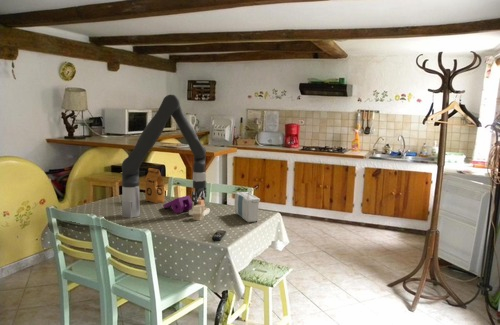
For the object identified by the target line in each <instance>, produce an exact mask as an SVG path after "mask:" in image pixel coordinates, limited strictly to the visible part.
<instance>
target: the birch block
mask: <svg viewBox="0 0 500 325" xmlns="http://www.w3.org/2000/svg"><path fill="white" fill-rule="evenodd" d="M204 205H205V204H204ZM204 205H195V206H194V205H193V206H192V209H193V215H192V220H193V221H202V220H203V219H204V218H205V216H204V208H205V206H204Z"/></svg>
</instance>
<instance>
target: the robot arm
mask: <svg viewBox="0 0 500 325" xmlns="http://www.w3.org/2000/svg"><path fill="white" fill-rule="evenodd" d="M171 117H172V118H173V120H174V121H175V123H176V125H177V126H178V128H179V131H180V132H181V134H182V136H183V138H184V140H185V141H186V143H187V145H188V147H189V149H190V151H191V153H192V154H193V158H194V159H193V160H194V161H193V168H192V171H193V172H192V188H194V190H193V191H191V201H192V203H193V206H195V205H198V200H199V199H200V200H204V204H205V200H206V198H207V174H206V159H207V149H206V146H204V145H202V143H201V141H200V140H199V136H198V134H197V133H196V131H195V129H194V127H193V126H192V124H191V123H190V122H189V120H188V118H187V117H186V116H185V113H184V112H183V109H182V107H181V105H180V99H179V98H178V96H176V95H175V94H167V95H166V96H164V97H163V99H162V101H161V104H160V106H159V107H158V110H157V111H156V113H155V114H154V116H152V118H151V119H150V120H149V122H147V123H148V124H147V125H146V126H145V127H144V129H143V131H141V133H140V136H139V137H138V140H137V141H136V143H135V146H134V147H133V150H132V151H131V152H130V154H129V155H128V156H127V157H126V158H125V159H123V161H122V163H121V171H122V173H121V176H122V179H121V184H122V186H121V188H122V200H121V217H122V218H129V219H133V218H137V217H139V216H140V215H141V212H140V211H141V209H140V208H141V207H140V206H141V205H140V203H141V202H140V201H141V200H140V198H141V197H140V167H141V165H142V163H143V162H144V160H145V158H146V156H147V154H148V153H149V152H150V151H151V149H152V148H153V147H154V146H155V145H156V143H157V141H158V139H159V138H160V137H161V135H162V134H163V131H164V129H165V127H166V124H167V123H168V121H169V119H170V118H171Z"/></svg>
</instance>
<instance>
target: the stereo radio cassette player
mask: <svg viewBox="0 0 500 325" xmlns="http://www.w3.org/2000/svg"><path fill="white" fill-rule="evenodd" d="M256 188H258V185H257V186H256V187H254V188H253V189H251V191H250V192H248V191H240V192H238V191H237V192H235V193H234V213H236V214H237V216H239V217H240V218H242V219H243V220H244V221H246V222H247V223H252V222H254V223H255V222H256V221H257V222H258V221H259V205H260V204H259V202H260V201H261V198H259V197H258V196H256V195H255V194H252V192H253V191H254V190H255V189H256Z"/></svg>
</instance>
